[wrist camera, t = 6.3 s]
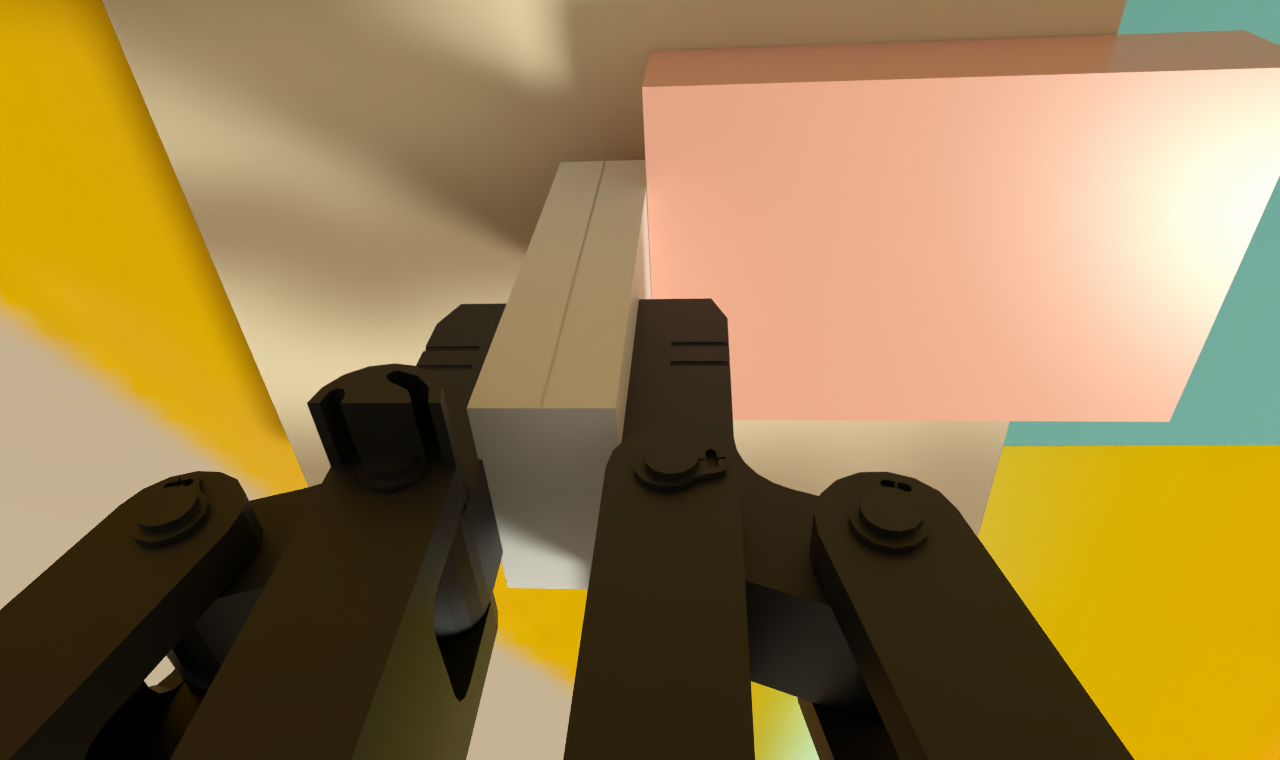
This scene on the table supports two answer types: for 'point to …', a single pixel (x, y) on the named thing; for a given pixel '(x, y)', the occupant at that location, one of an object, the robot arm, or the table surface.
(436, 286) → the beige striped slab
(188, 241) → the table surface
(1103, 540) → the table surface
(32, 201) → the table surface
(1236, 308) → the mat
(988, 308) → the pink rectangular block
